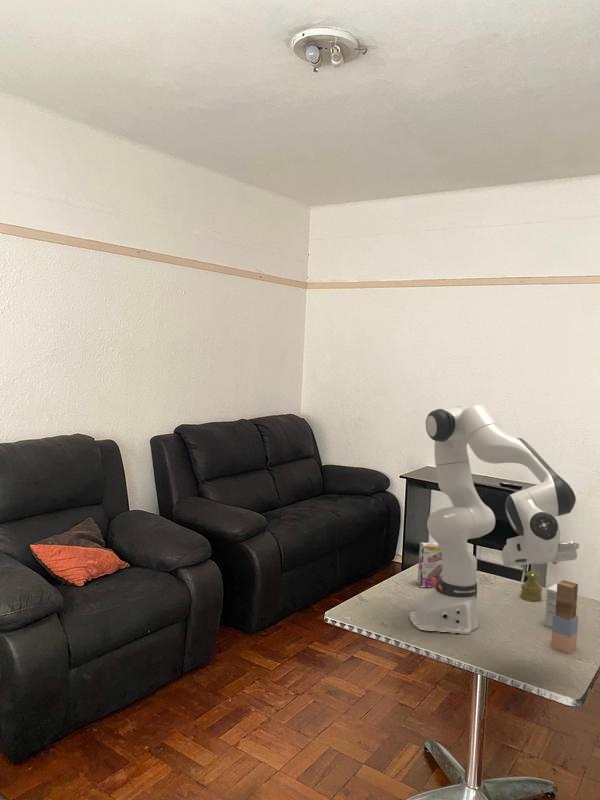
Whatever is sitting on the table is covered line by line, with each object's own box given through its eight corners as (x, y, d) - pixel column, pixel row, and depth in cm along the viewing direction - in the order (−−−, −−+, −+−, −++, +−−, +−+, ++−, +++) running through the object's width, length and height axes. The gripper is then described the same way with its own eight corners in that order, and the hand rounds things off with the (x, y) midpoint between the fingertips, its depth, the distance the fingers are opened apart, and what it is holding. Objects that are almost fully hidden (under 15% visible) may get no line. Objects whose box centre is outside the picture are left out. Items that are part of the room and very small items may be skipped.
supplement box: (553, 619, 216) (555, 583, 215) (575, 626, 211) (578, 589, 210) (543, 625, 211) (546, 588, 210) (566, 632, 205) (568, 594, 205)
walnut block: (570, 620, 191) (572, 587, 190) (555, 615, 194) (557, 583, 193) (575, 616, 194) (578, 584, 193) (561, 611, 197) (563, 580, 196)
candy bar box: (420, 588, 241) (422, 545, 240) (417, 583, 246) (419, 542, 245) (449, 588, 242) (451, 546, 240) (445, 583, 247) (447, 542, 245)
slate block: (570, 637, 191) (571, 621, 190) (552, 631, 194) (553, 615, 194) (577, 631, 195) (578, 616, 194) (559, 626, 198) (560, 610, 198)
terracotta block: (569, 653, 191) (570, 637, 191) (551, 647, 195) (552, 631, 194) (576, 647, 195) (577, 631, 195) (558, 641, 199) (559, 626, 198)
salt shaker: (535, 594, 239) (536, 568, 238) (545, 601, 231) (547, 575, 231) (516, 594, 238) (518, 568, 237) (526, 602, 230) (528, 575, 230)
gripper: (576, 531, 176) (572, 549, 187) (500, 539, 180) (500, 556, 191) (583, 553, 173) (577, 570, 184) (505, 561, 177) (504, 577, 188)
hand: (537, 563), depth 188 cm, fingers open, 8 cm apart
